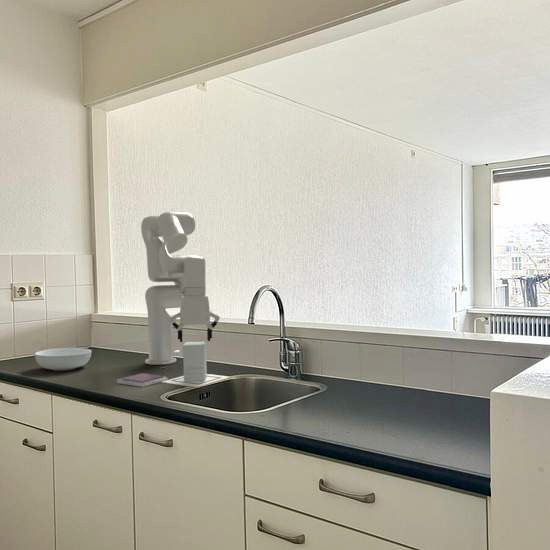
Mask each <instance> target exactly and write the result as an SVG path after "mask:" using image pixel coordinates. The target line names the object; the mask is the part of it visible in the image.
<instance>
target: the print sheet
mask: <svg viewBox="0 0 550 550" xmlns="http://www.w3.org/2000/svg"><path fill="white" fill-rule="evenodd" d="M230 378H231V376H227V375H219V374H218V375H217V374H212V373H211V374H210V373H209V374H208V373H207V377H206V379H205V381H184V375H181V376H178V377H174V378H171V379H167V380H166V381H163V382H160V383H162V384H168V385H169V384H170V385H175V386H176V385H177V386H182V387H183V386H184V387H188V388H190V387H191V388H196V389H197V388H200V387H204V386H207V385H210V384H213V383H218V382H220V381H224V380H226V379H227V380H228V379H230Z"/></svg>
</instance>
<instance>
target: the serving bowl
mask: <svg viewBox="0 0 550 550" xmlns="http://www.w3.org/2000/svg"><path fill="white" fill-rule="evenodd" d="M91 356H92V349H89V348H86V347H85V348H84V347H62V348H60V347H58V348H49V349H44V350H39V351H36V352H35V353H34V358H35V361H36V363H37V364H38V365H39V366H40V367H41V368H43V369H47V370H50V371H51V370H52V371H55V372H61V371H62V372H63V371H64V372H65V371H71V370H75V369H77V368H80V367H82V366H84V365H86V364H87V363H88V362H90V359H91Z"/></svg>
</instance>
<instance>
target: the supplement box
mask: <svg viewBox="0 0 550 550" xmlns="http://www.w3.org/2000/svg"><path fill="white" fill-rule="evenodd" d="M182 357H183V376H184V381H205V379H206V377H207V374H208V371H207V370H208V369H207V343H206V341H186V342H185V343H184V344H182Z"/></svg>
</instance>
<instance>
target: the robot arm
mask: <svg viewBox="0 0 550 550" xmlns="http://www.w3.org/2000/svg"><path fill="white" fill-rule="evenodd" d="M140 225H141V226H140V230H141V236H142V240H143V242H144V246H145V248H146V249H145V250H146V262H147V265H146V267H147V276H148V279H149V280H150V281H151V282H154V283H174V284H170V285H168V284H166V285H153V286H150V287H148V288H147V289H146V291H145V294H144V295H145V296H144V297H145V298H144V299H145V302H146V310H147V324H148V327H147V328H148V358H147V359H145V360H144V363H145V364H146V365H153V366H154V365H155V366H156V365H157V366H160V365H162V366H163V365H170V364H171V365H172V364H175V363H176V362H177V358H176V357H175V356H178V355H180V354H181V351H180V349H179V350H178V349H176V350H174V349H173V327H174V328H175V329H176V330H177V340H179V342H180V343H183V330H182V329H183V327H184V326H204V325H205V326H207V329H206V331H207V332H206V335H207V337H206V339H207V341H208V342H210V341H211V339H212V338H213V329H214V328H215V327H216V326H217V324H218V323H219V320H220V318H221V317H220V316H219V315H217V314H215V313H213V312H211V310H210V300H209V296H208V295H207V294H206V291H207V290H206V288H207V287H206V259H205V258H204V257H203V256H199V255H192V254H191V255H186V254H185V255H184V254H183V255H179V254H178V255H171V254H175V253H176V252H179V251H180V250H181V251H182V249H183V248H185V247H186V245H187V243H188V236H190V235H192V234H193V233H194V232H195V229H196V220H195V218H194V216H193V215H192V214H191V213H189V212H183V211H182V212H179V211H175V212H174V211H167V212H163V213H161V214H159V215H150V216H146V217H144V218H143V219H142V221H141V224H140ZM177 308H179V312H178V313H176V314H173V315H172V316H171V315H170V314H169V313H168V311H167V309H177ZM211 318H213V320H214V321H212V323H211V322H210V321H211ZM176 319H179V320H180V321H179V322H180V323H179V324H177V322H176V321H175V320H176Z"/></svg>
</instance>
